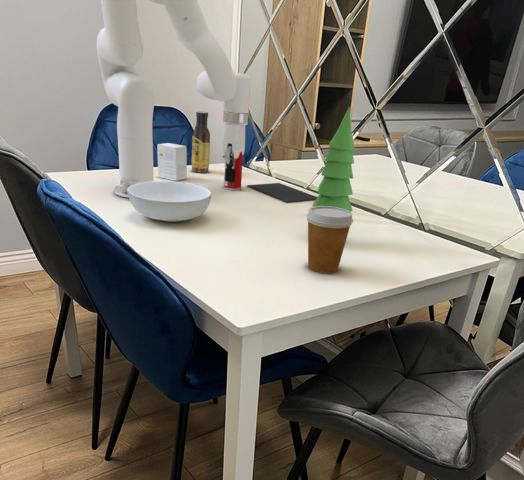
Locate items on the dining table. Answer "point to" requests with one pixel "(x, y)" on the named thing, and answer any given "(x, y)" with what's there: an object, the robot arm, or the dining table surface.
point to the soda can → (238, 174)
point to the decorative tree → (338, 169)
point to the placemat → (283, 192)
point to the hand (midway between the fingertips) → (232, 179)
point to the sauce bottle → (201, 144)
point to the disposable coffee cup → (327, 237)
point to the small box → (172, 161)
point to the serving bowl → (169, 200)
